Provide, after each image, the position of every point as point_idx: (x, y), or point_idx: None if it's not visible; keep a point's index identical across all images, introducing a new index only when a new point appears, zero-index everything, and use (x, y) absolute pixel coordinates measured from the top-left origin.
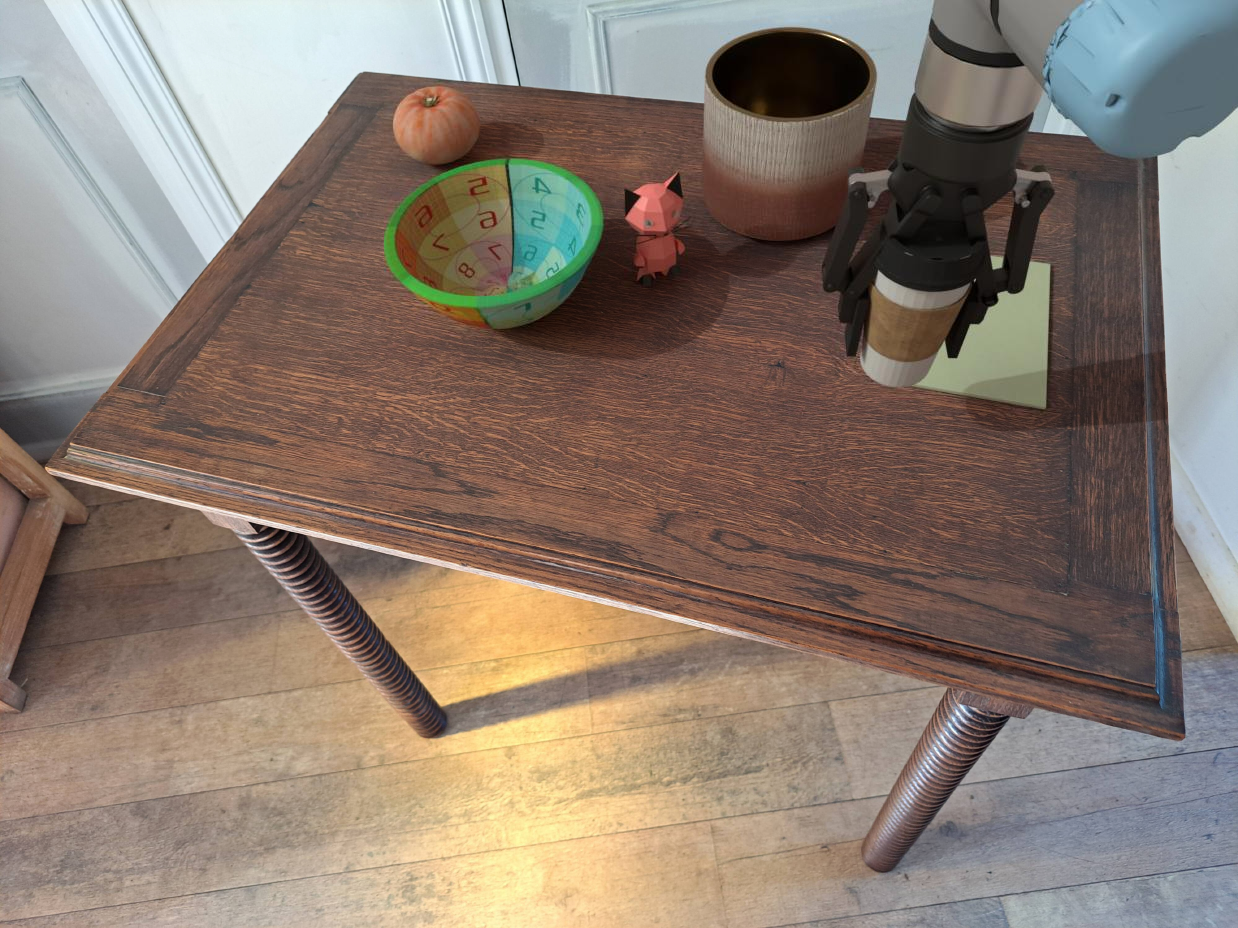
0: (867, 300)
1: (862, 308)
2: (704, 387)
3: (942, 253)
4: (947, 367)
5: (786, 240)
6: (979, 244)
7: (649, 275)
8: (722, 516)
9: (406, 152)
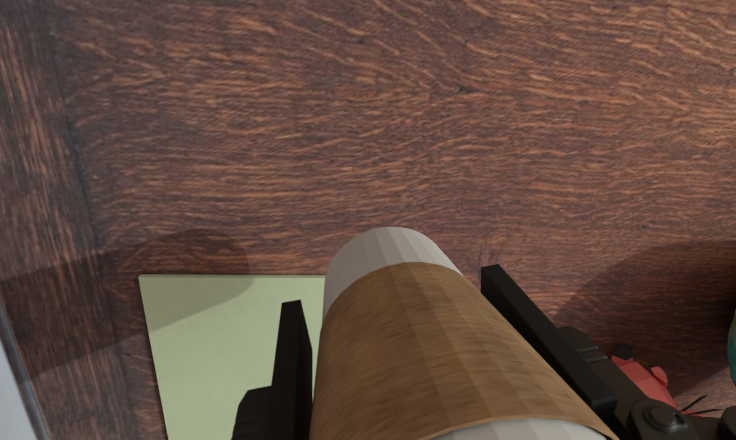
0: (595, 403)
1: (584, 374)
2: (576, 223)
3: None
4: (278, 310)
5: None
6: None
7: (625, 358)
8: (579, 5)
9: None
